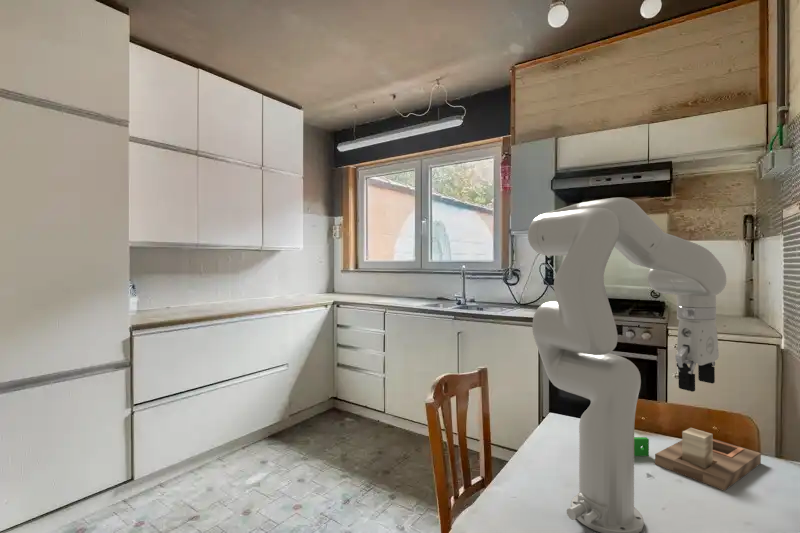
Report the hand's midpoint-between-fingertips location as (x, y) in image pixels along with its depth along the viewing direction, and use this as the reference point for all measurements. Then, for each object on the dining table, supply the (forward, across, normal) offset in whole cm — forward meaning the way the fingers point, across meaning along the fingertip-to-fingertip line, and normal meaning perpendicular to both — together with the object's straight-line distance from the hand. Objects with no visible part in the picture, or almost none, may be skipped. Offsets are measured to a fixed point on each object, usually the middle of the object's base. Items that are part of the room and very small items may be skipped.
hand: (696, 385), depth 97 cm
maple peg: (+20, -1, 0) cm, 20 cm away
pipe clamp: (+20, -6, +14) cm, 26 cm away
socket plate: (+20, +5, 0) cm, 21 cm away
